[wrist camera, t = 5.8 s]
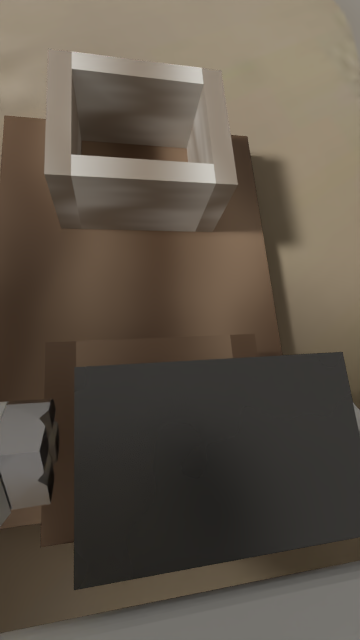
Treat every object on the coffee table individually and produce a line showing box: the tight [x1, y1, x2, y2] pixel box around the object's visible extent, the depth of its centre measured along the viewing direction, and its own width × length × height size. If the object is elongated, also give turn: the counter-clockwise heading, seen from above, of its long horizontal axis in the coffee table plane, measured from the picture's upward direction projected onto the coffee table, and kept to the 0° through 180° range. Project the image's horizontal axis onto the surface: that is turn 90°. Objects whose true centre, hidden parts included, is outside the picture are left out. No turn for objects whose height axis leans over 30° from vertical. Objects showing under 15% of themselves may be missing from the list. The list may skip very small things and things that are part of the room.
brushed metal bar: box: [74, 352, 360, 590], centre depth 10 cm, size 4×2×11 cm, turn 95°
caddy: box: [0, 49, 282, 547], centre depth 15 cm, size 14×20×6 cm
